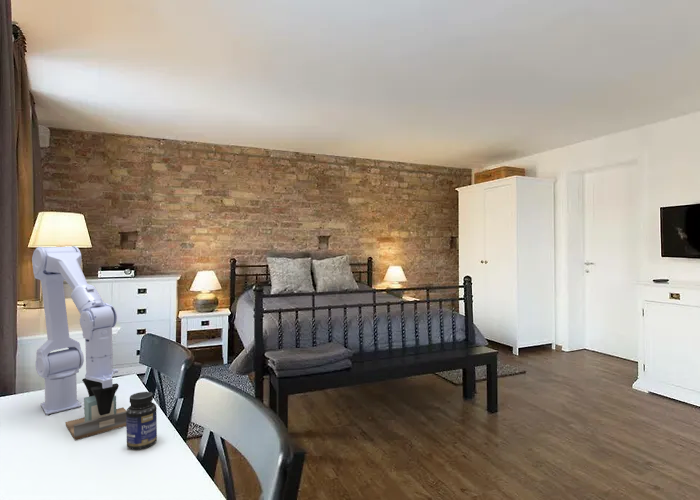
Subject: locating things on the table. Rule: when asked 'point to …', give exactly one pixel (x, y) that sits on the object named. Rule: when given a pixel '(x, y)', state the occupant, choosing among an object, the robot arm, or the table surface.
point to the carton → (96, 408)
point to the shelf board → (96, 424)
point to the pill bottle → (141, 421)
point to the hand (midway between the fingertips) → (100, 409)
